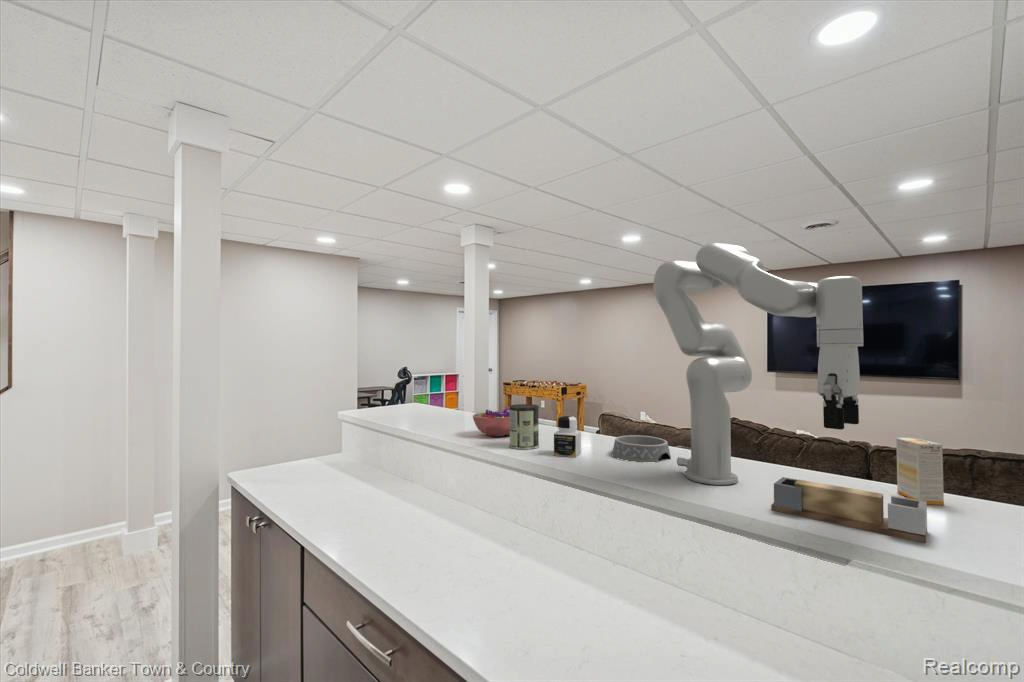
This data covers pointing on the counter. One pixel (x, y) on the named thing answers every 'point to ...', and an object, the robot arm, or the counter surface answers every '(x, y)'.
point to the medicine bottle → (567, 437)
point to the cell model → (493, 422)
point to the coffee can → (524, 426)
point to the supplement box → (920, 470)
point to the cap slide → (907, 515)
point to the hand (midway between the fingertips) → (841, 426)
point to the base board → (854, 523)
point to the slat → (842, 501)
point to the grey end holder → (788, 494)
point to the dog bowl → (640, 448)
